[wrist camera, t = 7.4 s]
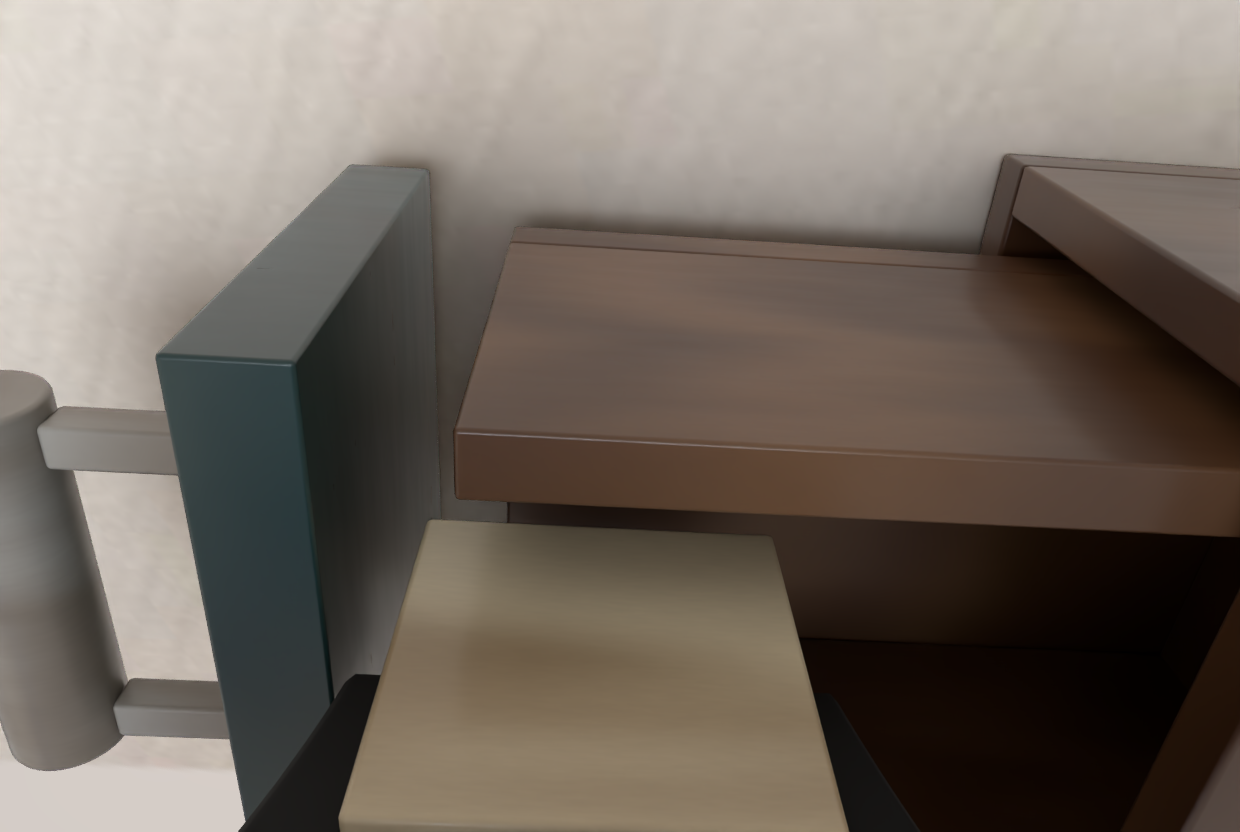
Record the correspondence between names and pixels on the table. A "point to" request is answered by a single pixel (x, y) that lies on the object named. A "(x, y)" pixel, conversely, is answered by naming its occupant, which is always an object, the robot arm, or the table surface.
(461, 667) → the block
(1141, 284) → the cabinet
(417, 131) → the table surface
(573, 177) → the table surface
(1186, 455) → the drawer
